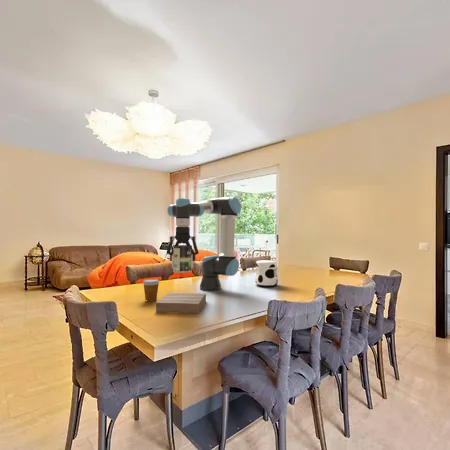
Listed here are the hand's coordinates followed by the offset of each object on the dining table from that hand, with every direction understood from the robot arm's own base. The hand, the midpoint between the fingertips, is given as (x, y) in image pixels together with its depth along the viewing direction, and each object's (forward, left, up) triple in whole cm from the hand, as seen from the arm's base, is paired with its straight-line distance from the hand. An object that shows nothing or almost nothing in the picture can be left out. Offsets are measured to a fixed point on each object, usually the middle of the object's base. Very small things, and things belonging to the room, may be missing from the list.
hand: (182, 267), depth 153 cm
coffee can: (0, 0, -3) cm, 3 cm away
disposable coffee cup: (-11, -22, -22) cm, 33 cm away
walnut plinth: (0, 0, -22) cm, 22 cm away
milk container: (-62, +48, -22) cm, 81 cm away
